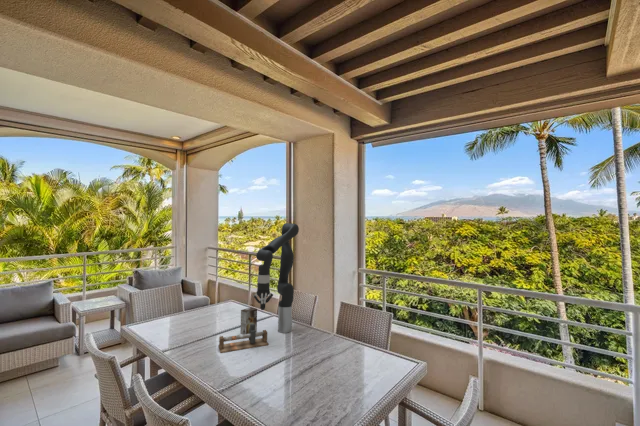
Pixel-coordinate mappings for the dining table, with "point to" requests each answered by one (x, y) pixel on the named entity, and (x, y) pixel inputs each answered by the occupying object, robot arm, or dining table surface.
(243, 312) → the coffee box
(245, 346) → the rail
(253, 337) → the collar
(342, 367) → the dining table surface
